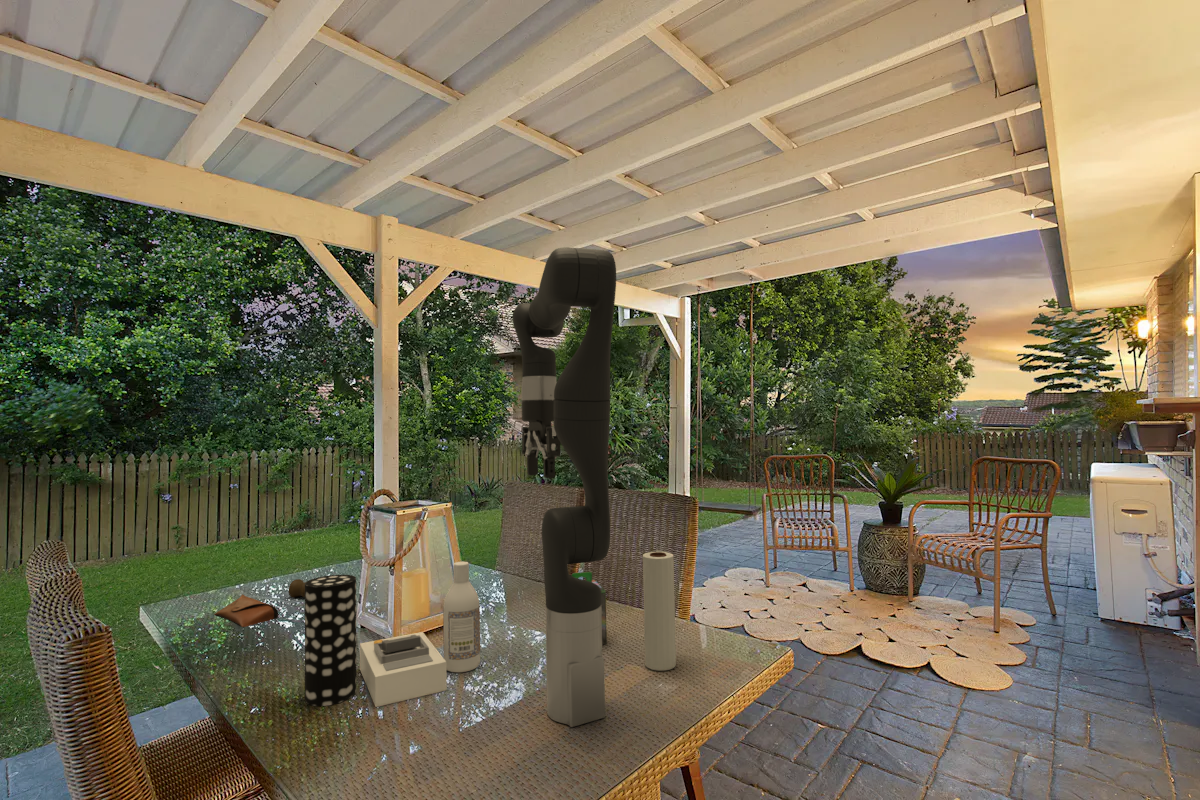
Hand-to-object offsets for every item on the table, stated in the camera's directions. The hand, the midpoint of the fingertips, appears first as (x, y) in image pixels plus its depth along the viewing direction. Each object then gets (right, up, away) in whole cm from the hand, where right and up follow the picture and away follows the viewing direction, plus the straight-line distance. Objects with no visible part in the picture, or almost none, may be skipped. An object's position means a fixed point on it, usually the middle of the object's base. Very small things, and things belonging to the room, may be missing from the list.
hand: (540, 476), depth 125 cm
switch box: (-25, -36, -13) cm, 46 cm away
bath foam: (-15, -36, -8) cm, 40 cm away
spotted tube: (-35, -36, -19) cm, 54 cm away
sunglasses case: (-77, -39, +26) cm, 90 cm away
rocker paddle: (-25, -30, -13) cm, 41 cm away
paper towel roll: (+24, -36, -8) cm, 44 cm away
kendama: (-64, -39, +39) cm, 84 cm away
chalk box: (+8, -36, +5) cm, 38 cm away
